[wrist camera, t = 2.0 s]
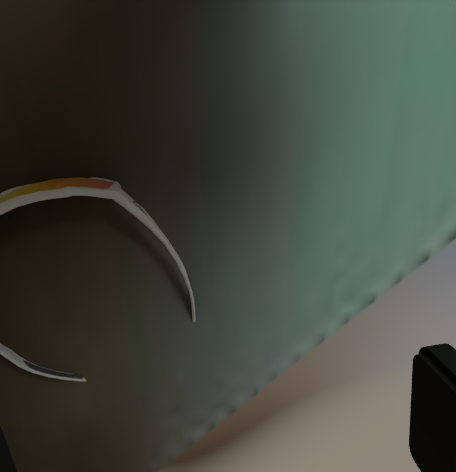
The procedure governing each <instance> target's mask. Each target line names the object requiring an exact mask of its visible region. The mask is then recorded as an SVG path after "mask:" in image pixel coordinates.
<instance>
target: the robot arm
mask: <svg viewBox="0 0 456 472" xmlns="http://www.w3.org/2000/svg"><path fill="white" fill-rule="evenodd" d="M409 447H410V452H411V455H412V457H413V459H414V461H415V463H416V464H417V466H418V467H419V469H420V470H421V472H456V350H455V349H454V348H453V347H452V346H450V345H449V344H439V345H433V346H427V347H422V348H421V349H420V351H419V355H415V356H414V358H413V372H412V393H411V414H410V436H409ZM0 472H17V470H16V467H15V465H14V462H13V459H12V456H11V454H10V451H9V448H8V446H7V443H6V440H5V437H4V435H3V432H2V429H1V427H0Z"/></svg>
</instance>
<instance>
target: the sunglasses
mask: <svg viewBox="0 0 456 472" xmlns="http://www.w3.org/2000/svg"><path fill="white" fill-rule="evenodd" d="M70 196H93V197H100V198H107V199H113V200H114V201H116V202H117V203H118V204H120V205H121V206H122V207H123V206H124V207H125V209H126V210H127V211H129V212H130V213H131V214H133V215H134V216H135V217H136V218H138V219H139V220H140V221H141V222H142V223H143V224H145V225H146V226H147V227H148V228H149V229H150V230H151V231H152V232H153V233H154V234H155V235H156V236H157V237H158V238H159V239H160V240H161V242H162V243H163V244H164V245H165V246H166V248H167V249H168V251H169V252H170V254H171V255H172V256H173V258H174V259H175V261H176V263H177V265H178V267H179V269H180V271H181V273H182V275H183V277H184V280H185V283H186V285H187V289H188V293H189V296H190V302H191V317H192V320H193V322H196V311H195V302H194V296H193V290H192V286H191V283H190V280H189V277H188V274H187V271H186V269H185V267H184V265H183V263H182V262H181V260H180V258H179V256H178V254H177V253H176V251H175V250H174V248H173V247H172V245H171V244H170V242H169V241H168V239H167V238H166V236H165V235H164V234H163V232H162V231H161V230H160V228H159V227H158V226H157V224H156V223H155V222H154V220H153V219H152V218H151V217H150V215H149V214H148V213H147V212H146V211H145V209H144V208H143V207H141V206H140V205H139V204H138V203H136V202H135V201H134V200H133V199H132V198H131V197H130V196H129V195H128V194H126V193H125V192H124V191H123V190H122V189H121V185H120V184H119V183H118V182H116V181H112V180H107V179H102V178H96V177H92V178H82V177H77V178H58V179H53V180H48V181H43V182H39V183H33V184H28V185H23V186H18V187H14V188H11V189H9V190H6V191H4V192H2V193H0V215H1V214H2V216H3V218H5V219H9V218H10V215H9V212H8V211H10V210H12V209H14V208H16V207H19V206H22V205H26V204H30V203H33V202H38V201H42V200H48V199H55V198H66V197H70ZM0 354H1V355H2V356H4V357H5V358H7V359H8V360H10V361H11V362H13V363H14V364H15V365H17V366H18V367H20V368H22V369H24V370H27V371H29V372H32V373H35V374H38V375H42V376H46V377H49V378H55V379H61V380H69V381H79V382H85V381H86V379H84V378H83V377H81V376H79V375H76V374H73V373H67V372H61V371H55V370H52V369H48V368H44V367H41V366H38V365H36V364H33V363H31V362H28V361H27V360H25V359H23V358H22V357H20V356H19V355H17V354H16V353H15V352H13V351H12V350H11V349H9V348H7V347H5V346H4V345H2V344H0Z"/></svg>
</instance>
